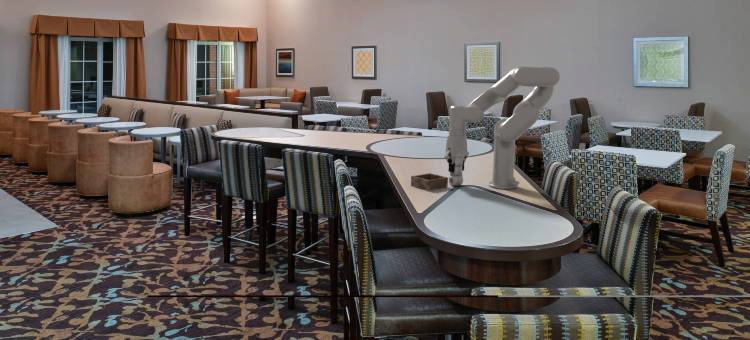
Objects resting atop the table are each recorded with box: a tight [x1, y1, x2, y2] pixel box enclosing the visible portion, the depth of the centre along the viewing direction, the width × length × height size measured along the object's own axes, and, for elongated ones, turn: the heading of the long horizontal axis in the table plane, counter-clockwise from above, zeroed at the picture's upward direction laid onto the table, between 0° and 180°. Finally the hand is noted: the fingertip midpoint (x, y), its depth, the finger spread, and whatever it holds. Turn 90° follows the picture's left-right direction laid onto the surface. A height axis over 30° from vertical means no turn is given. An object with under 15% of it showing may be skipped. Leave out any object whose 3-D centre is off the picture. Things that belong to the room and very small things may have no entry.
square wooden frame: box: [410, 172, 449, 192], centre depth 266 cm, size 12×12×4 cm
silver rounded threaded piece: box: [448, 151, 464, 187], centre depth 266 cm, size 6×7×20 cm
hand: (456, 170), depth 267 cm, fingers closed on silver rounded threaded piece, 5 cm apart
